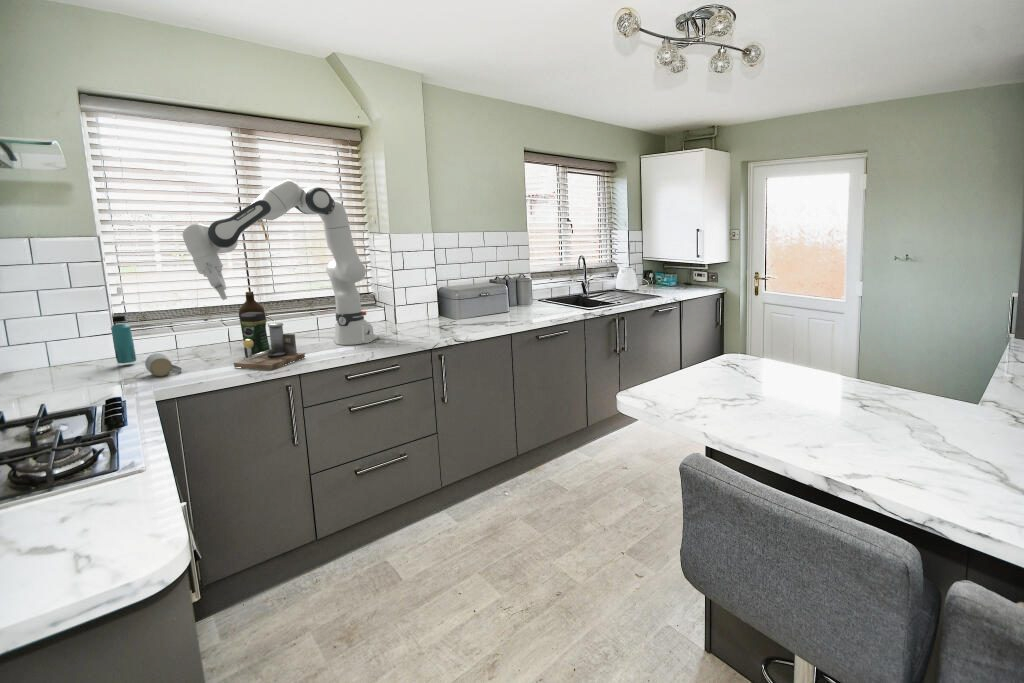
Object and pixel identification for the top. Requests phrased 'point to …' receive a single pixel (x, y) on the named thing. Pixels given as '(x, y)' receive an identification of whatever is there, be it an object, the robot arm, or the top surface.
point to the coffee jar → (255, 331)
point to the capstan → (276, 343)
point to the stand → (274, 362)
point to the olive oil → (250, 307)
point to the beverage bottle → (123, 341)
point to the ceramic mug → (160, 365)
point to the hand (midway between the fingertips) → (224, 299)
